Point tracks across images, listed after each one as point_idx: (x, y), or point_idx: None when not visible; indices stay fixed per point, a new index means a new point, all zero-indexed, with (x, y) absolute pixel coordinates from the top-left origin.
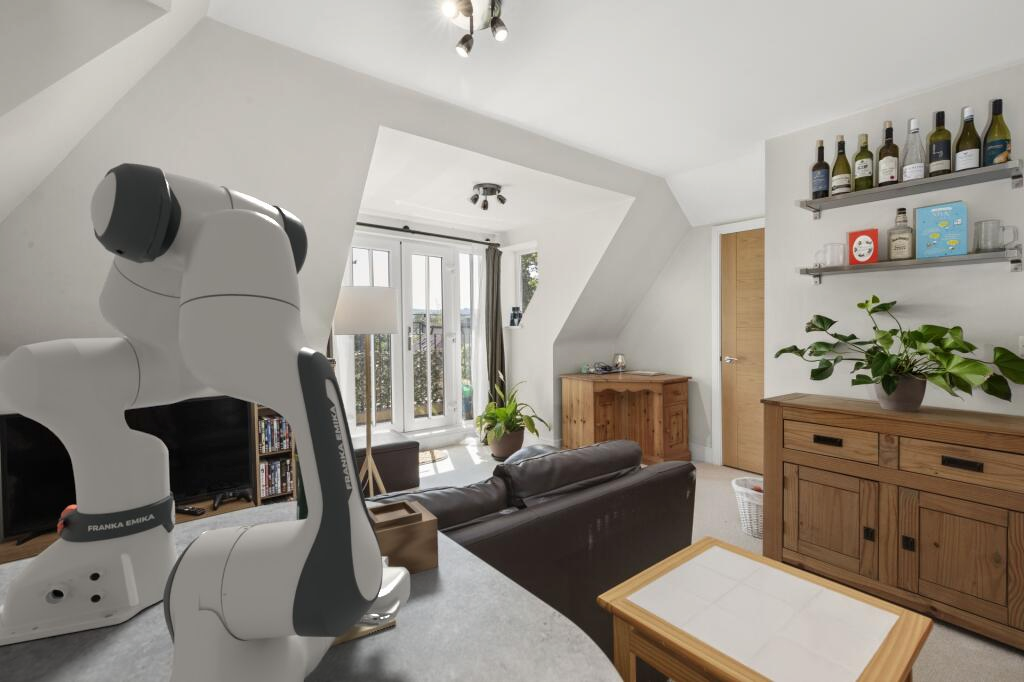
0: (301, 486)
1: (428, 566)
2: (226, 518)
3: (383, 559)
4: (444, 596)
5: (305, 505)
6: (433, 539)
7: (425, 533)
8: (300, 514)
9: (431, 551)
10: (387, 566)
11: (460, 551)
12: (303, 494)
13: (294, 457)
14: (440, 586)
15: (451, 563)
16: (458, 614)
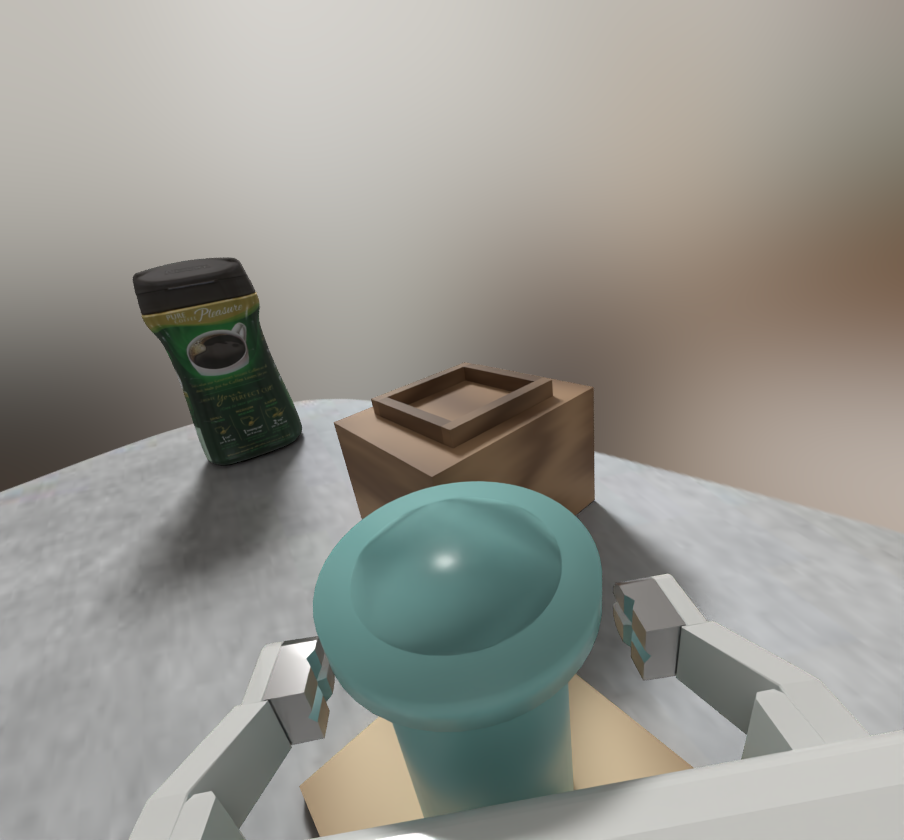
0: (188, 385)
1: (578, 507)
2: (63, 475)
3: (685, 604)
4: (731, 600)
5: (212, 423)
6: (586, 442)
7: (572, 431)
8: (208, 442)
9: (583, 472)
10: (813, 676)
11: (600, 454)
12: (199, 401)
13: (146, 324)
14: (673, 563)
15: (616, 486)
16: (889, 681)
